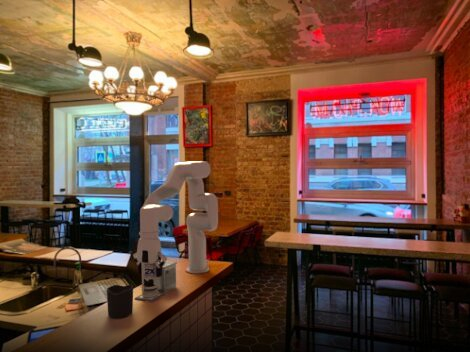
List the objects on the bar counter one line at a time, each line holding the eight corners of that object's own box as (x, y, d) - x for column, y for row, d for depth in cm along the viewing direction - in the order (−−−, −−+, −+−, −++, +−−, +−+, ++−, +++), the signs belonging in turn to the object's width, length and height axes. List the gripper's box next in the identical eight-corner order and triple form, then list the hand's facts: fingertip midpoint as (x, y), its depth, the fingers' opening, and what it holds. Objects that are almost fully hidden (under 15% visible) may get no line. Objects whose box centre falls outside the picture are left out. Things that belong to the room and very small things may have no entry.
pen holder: (124, 307, 131) (124, 282, 131) (138, 313, 125) (138, 287, 125) (102, 315, 124) (101, 288, 124) (115, 322, 118) (115, 294, 118)
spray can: (142, 299, 138) (141, 251, 138) (142, 293, 145) (141, 247, 145) (158, 297, 140) (157, 250, 140) (157, 291, 146) (156, 246, 146)
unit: (163, 285, 158) (163, 260, 158) (177, 287, 154) (177, 261, 154) (150, 291, 149) (150, 265, 149) (165, 294, 146) (164, 267, 146)
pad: (148, 292, 148) (148, 290, 148) (165, 295, 144) (165, 293, 144) (134, 299, 140) (134, 297, 140) (151, 302, 136) (151, 300, 136)
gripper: (127, 235, 142) (128, 275, 142) (160, 238, 135) (161, 280, 135) (139, 232, 149) (140, 270, 149) (171, 235, 142) (171, 275, 142)
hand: (150, 275), depth 142 cm, fingers open, 9 cm apart
